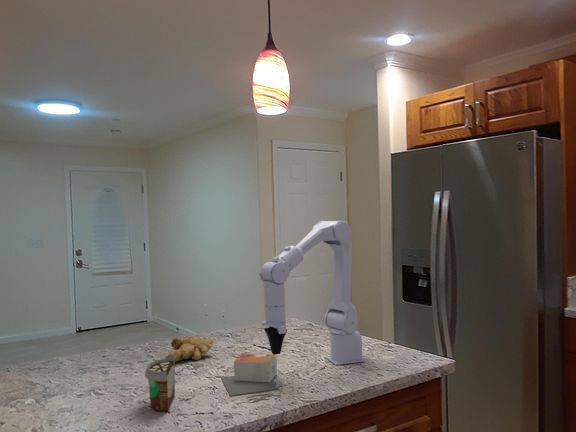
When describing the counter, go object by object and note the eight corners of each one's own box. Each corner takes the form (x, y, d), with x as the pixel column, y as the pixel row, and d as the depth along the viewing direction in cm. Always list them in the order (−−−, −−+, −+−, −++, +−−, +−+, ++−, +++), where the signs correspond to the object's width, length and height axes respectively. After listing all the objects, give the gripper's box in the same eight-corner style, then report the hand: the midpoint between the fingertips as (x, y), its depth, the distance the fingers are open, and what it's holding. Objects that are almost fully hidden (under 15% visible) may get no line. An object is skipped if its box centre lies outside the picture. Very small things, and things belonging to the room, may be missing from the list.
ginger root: (208, 343, 166) (208, 323, 164) (216, 367, 151) (216, 345, 149) (163, 350, 161) (162, 329, 159) (167, 375, 146) (165, 352, 144)
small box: (270, 362, 128) (233, 361, 130) (270, 383, 128) (234, 381, 130) (276, 353, 136) (242, 352, 138) (277, 373, 136) (242, 371, 138)
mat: (265, 372, 137) (265, 371, 137) (278, 389, 124) (278, 388, 124) (221, 378, 133) (221, 377, 133) (230, 396, 120) (230, 395, 120)
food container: (151, 396, 122) (150, 358, 122) (175, 395, 122) (174, 356, 122) (140, 416, 109) (139, 374, 109) (167, 415, 110) (166, 372, 110)
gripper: (254, 301, 137) (256, 348, 137) (267, 311, 123) (269, 362, 123) (278, 299, 139) (279, 345, 139) (293, 308, 125) (294, 359, 125)
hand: (276, 353), depth 131 cm, fingers closed
